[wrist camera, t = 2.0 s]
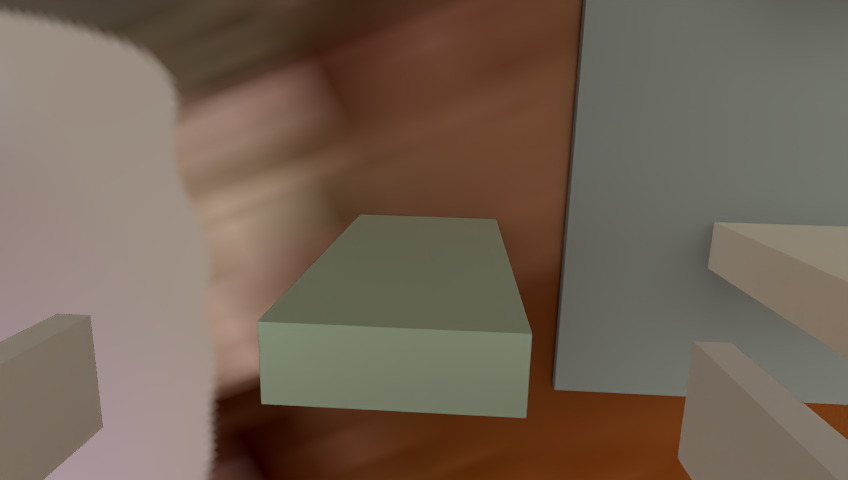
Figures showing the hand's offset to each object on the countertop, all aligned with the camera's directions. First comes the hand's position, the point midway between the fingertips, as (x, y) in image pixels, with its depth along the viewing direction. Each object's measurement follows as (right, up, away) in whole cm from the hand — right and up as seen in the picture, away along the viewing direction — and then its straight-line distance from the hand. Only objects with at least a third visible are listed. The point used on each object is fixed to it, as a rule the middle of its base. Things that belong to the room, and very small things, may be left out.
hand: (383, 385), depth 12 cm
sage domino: (+1, +3, +13) cm, 13 cm away
